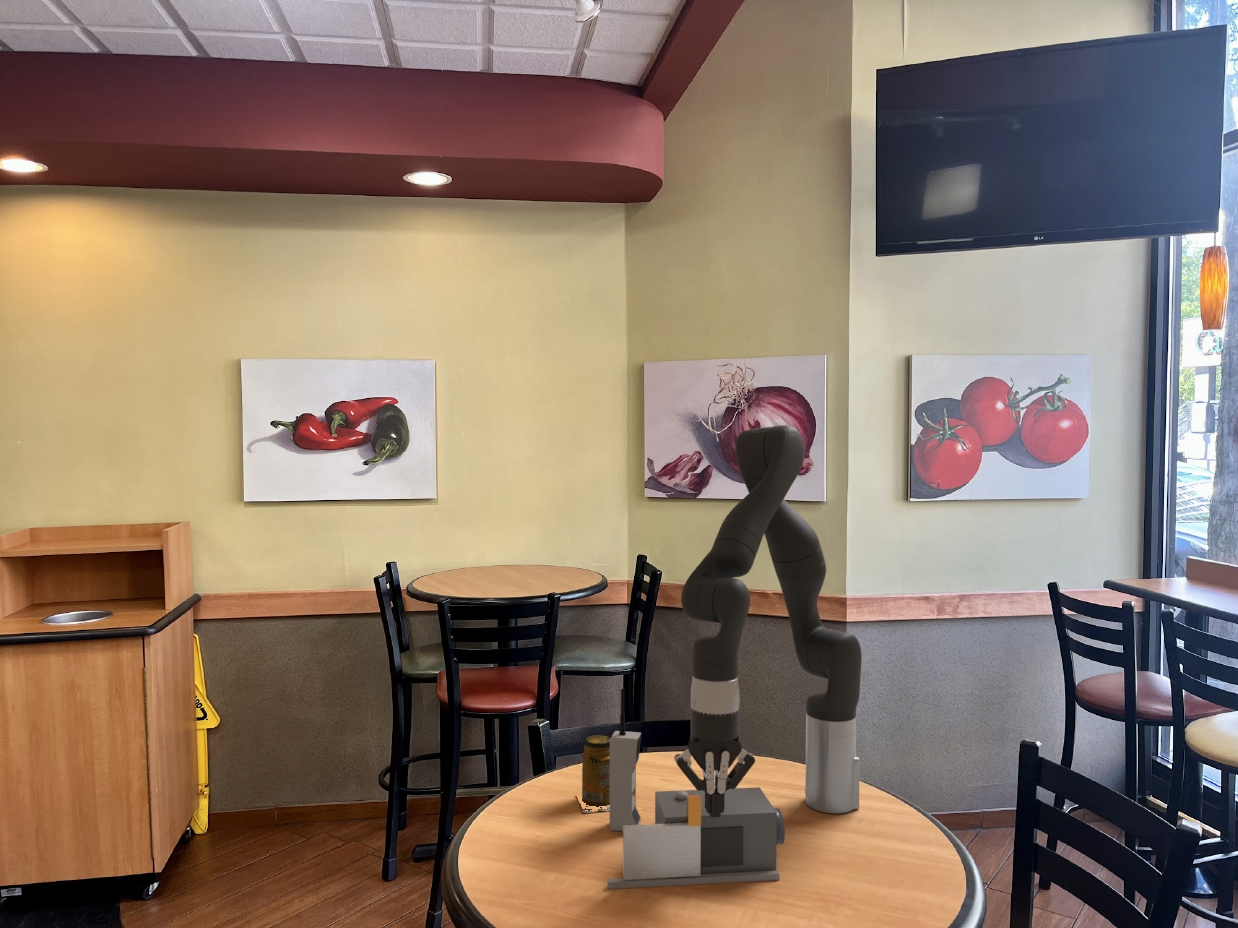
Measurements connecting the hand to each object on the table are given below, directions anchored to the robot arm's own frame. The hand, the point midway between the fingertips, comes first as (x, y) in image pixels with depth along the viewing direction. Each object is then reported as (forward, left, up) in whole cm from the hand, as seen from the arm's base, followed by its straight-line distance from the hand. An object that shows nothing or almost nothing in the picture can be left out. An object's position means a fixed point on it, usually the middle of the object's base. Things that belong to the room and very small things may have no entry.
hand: (714, 814), depth 132 cm
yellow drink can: (+16, -31, -11) cm, 37 cm away
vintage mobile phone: (+12, -20, -11) cm, 26 cm away
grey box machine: (+2, -6, -11) cm, 12 cm away
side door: (+8, 0, -9) cm, 12 cm away
